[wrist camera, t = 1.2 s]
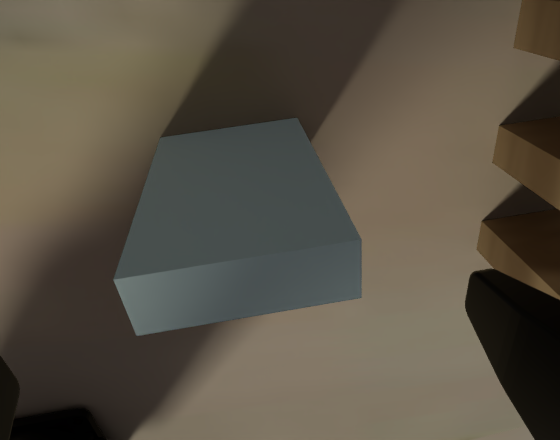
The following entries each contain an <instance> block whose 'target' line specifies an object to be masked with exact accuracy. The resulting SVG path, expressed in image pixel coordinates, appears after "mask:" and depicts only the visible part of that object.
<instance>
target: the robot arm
mask: <svg viewBox="0 0 560 440" xmlns="http://www.w3.org/2000/svg"><path fill="white" fill-rule="evenodd" d="M465 308H466V312H467V315H468V317H469V319H470V321H471V323H472V325H473V327H474V330H475V332H476V334H477V336H478V338H479V340H480V342H481V344H482V346H483V348H484V350H485V352H486V355H487V357H488V359H489V361H490V363H491V365H492V367H493V369H494V371H495V373H496V375H497V377H498V379H499V381H500V383H501V385H502V387H503V388H504V390H505V392H506V393H507V395H508V397H509V399H510V400H511V402H512V403H513V405H514V407H515V408H516V410H517V412H518V413H519V415H520V416H521V418H522V420H523V421H524V423H525V425H526V426H527V428H528V429H529V431H530V433H531V434H532V436H533V437H534V439H535V440H560V300H559V299H557V298H555V297H553V296H551V295H549V294H546V293H544V292H542V291H540V290H538V289H536V288H534V287H532V286H530V285H528V284H525V283H523V282H521V281H519V280H517V279H515V278H513V277H511V276H509V275H507V274H504V273H502V272H500V271H498V270H496V269H485V270H479V271H474V272H473V273H472V274H471V275H470V278H469V283H468V289H467V294H466V300H465ZM19 390H20V388H19V383H18V380H17V379H16V377H15V376H14V374H13V373H12V371H11V370H10V368H9V367H8V365H7V364H6V363H5V361H4V360H3V358H2V357H1V356H0V440H107V439H106V438H105V437H104V436H103V434H102V432H101V431H100V429H99V427H98V425H97V424H96V422H95V420H94V419H93V417H92V415H91V413H90V412H89V411H88V410H86V409H73V410H67V411H62V412H56V413H51V414H45V415H39V416H34V417H28V418H23V419H17V420H14V416H15V411H16V407H17V402H18V398H19Z"/></svg>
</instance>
